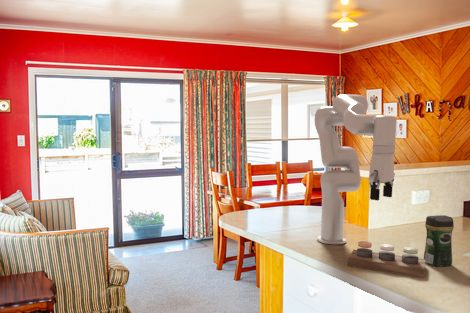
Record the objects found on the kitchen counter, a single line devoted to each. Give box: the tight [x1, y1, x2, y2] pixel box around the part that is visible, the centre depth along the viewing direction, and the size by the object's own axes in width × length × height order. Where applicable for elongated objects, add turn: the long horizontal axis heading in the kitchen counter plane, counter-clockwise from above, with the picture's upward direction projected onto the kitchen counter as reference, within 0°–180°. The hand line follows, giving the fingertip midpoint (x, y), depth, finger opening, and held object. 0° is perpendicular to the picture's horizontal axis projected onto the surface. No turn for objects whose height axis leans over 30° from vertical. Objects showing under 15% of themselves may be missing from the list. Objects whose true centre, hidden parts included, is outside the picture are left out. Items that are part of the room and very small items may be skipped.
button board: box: [347, 247, 426, 278], centre depth 163 cm, size 12×26×5 cm, turn 65°
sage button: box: [403, 246, 419, 255], centre depth 160 cm, size 5×5×1 cm
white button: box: [379, 243, 395, 252], centre depth 163 cm, size 5×5×1 cm
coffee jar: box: [423, 214, 455, 267], centre depth 167 cm, size 10×8×19 cm
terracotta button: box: [357, 240, 373, 249], centre depth 166 cm, size 5×5×1 cm
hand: (381, 198), depth 158 cm, fingers open, 9 cm apart
